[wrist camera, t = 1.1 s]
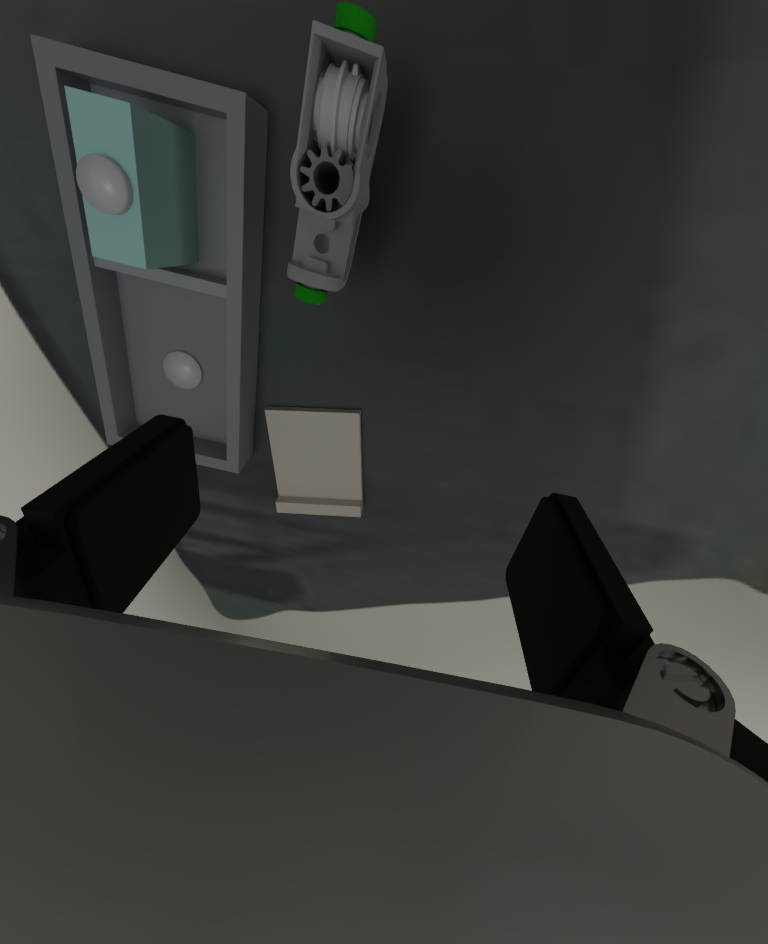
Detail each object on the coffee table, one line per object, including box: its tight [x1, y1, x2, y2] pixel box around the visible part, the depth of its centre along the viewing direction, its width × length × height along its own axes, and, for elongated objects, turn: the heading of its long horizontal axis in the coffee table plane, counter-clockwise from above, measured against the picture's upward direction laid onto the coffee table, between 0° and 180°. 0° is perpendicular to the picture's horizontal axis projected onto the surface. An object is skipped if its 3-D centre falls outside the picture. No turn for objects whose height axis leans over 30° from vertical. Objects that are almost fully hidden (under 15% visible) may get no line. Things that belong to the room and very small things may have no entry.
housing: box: [30, 34, 268, 473], centre depth 26 cm, size 24×11×8 cm, turn 168°
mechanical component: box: [287, 2, 388, 305], centre depth 20 cm, size 3×10×10 cm, turn 164°
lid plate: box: [265, 406, 363, 517], centre depth 34 cm, size 10×8×2 cm
